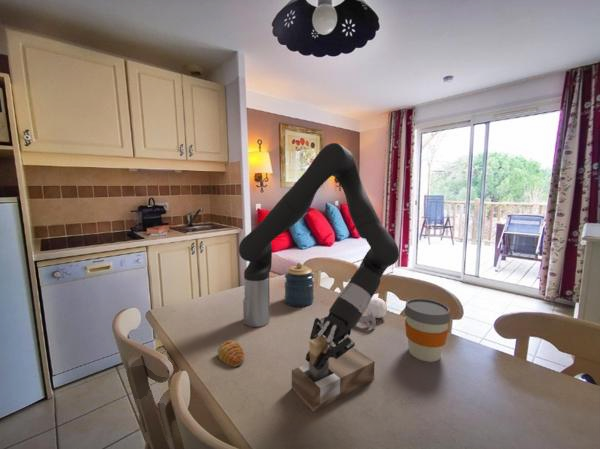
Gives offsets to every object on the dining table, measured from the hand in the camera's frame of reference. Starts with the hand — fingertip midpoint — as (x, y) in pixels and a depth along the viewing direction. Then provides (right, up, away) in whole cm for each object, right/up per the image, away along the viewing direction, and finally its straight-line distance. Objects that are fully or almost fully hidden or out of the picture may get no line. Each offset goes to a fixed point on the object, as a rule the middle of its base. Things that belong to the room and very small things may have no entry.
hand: (312, 364), depth 67 cm
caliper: (+15, -4, +37) cm, 40 cm away
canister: (-3, -1, +58) cm, 58 cm away
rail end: (+2, -4, +2) cm, 5 cm away
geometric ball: (+27, -3, +43) cm, 51 cm away
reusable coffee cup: (+35, -6, +19) cm, 40 cm away
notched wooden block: (+6, -7, +5) cm, 11 cm away
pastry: (-23, -6, +16) cm, 29 cm away
